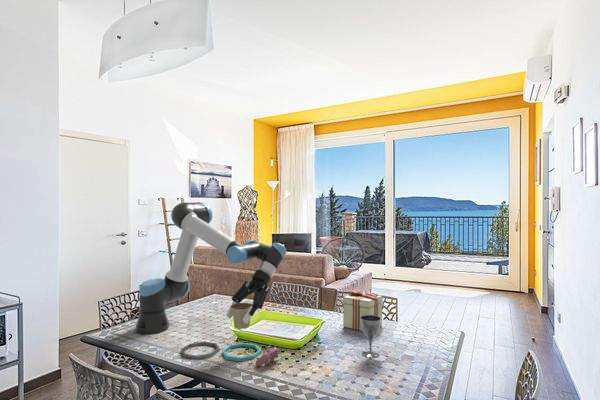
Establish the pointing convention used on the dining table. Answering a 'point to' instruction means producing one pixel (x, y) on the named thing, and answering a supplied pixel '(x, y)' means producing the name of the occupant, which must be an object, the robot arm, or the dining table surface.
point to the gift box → (360, 308)
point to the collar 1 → (200, 355)
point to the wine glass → (370, 332)
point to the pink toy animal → (268, 356)
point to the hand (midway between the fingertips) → (236, 319)
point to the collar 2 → (241, 357)
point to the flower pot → (240, 314)
